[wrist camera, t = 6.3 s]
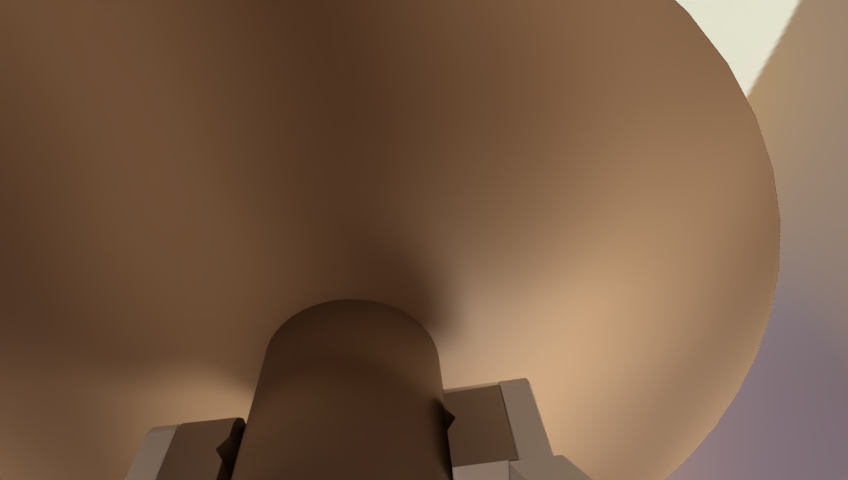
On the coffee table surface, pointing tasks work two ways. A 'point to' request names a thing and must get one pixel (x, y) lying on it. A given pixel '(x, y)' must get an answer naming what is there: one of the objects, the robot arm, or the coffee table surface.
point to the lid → (372, 230)
